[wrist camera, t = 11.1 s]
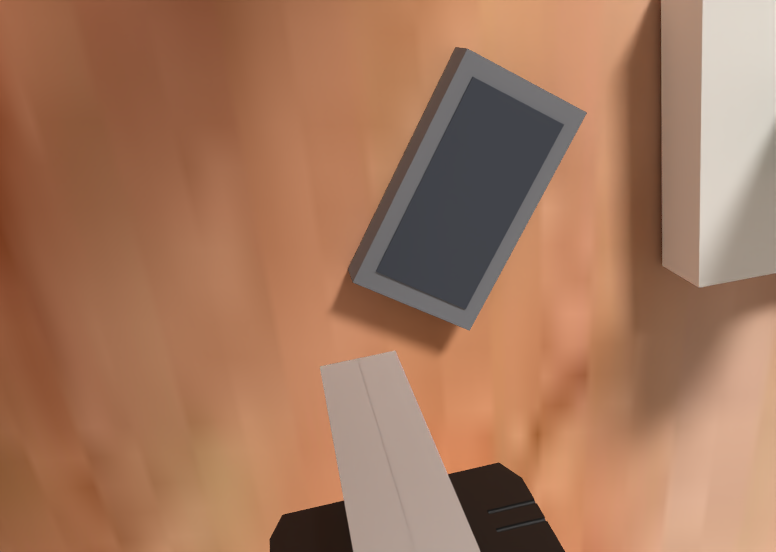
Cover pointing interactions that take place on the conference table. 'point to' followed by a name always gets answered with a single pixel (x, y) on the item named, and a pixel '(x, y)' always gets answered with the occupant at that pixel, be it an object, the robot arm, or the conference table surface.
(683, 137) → the outlet board
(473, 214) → the phone
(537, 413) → the conference table surface
